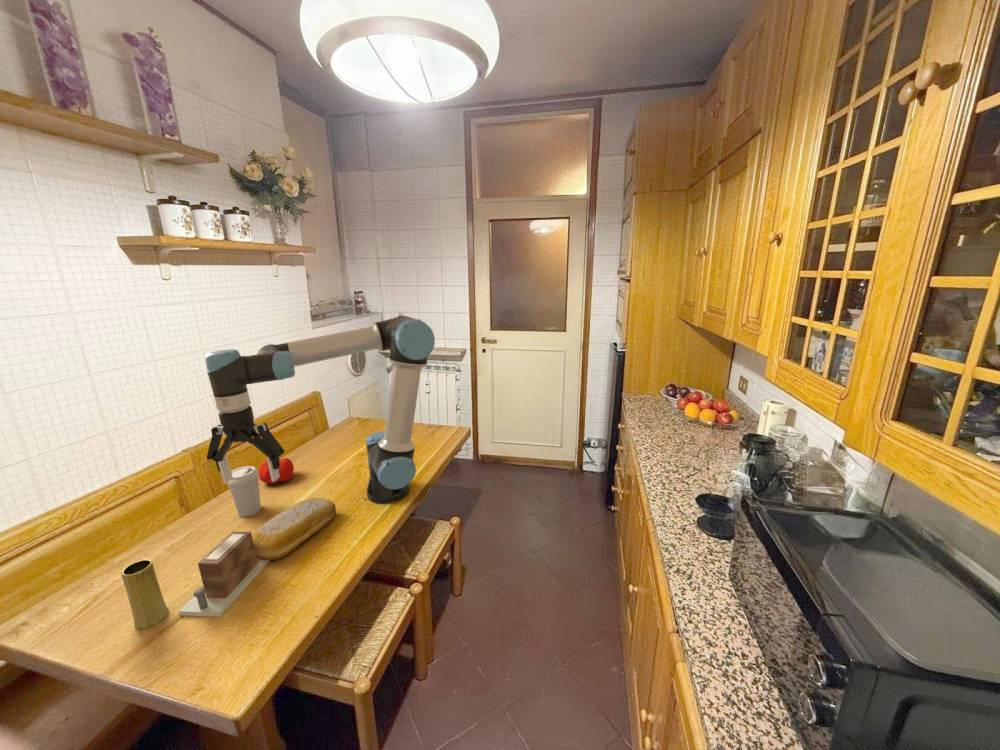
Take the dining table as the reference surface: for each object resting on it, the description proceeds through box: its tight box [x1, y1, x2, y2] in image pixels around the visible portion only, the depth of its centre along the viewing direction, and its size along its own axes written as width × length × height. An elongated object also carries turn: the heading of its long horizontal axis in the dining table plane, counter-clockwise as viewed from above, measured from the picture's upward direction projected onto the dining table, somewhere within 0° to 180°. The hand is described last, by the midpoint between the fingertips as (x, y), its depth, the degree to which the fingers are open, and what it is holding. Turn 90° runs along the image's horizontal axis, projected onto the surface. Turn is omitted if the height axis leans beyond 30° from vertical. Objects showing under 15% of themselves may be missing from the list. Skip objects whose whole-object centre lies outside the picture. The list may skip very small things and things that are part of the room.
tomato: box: [258, 457, 295, 485], centre depth 155 cm, size 13×12×8 cm
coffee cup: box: [226, 465, 262, 518], centre depth 134 cm, size 10×10×15 cm
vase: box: [121, 559, 170, 630], centre depth 92 cm, size 6×6×14 cm
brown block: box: [197, 531, 258, 598], centre depth 102 cm, size 12×5×10 cm, turn 177°
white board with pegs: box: [178, 556, 271, 618], centre depth 103 cm, size 10×20×6 cm, turn 176°
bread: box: [251, 497, 337, 561], centre depth 122 cm, size 13×26×8 cm, turn 164°
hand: (252, 480), depth 111 cm, fingers open, 13 cm apart
